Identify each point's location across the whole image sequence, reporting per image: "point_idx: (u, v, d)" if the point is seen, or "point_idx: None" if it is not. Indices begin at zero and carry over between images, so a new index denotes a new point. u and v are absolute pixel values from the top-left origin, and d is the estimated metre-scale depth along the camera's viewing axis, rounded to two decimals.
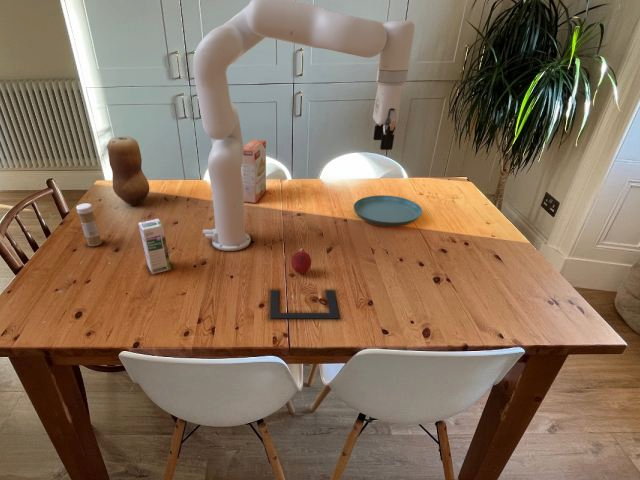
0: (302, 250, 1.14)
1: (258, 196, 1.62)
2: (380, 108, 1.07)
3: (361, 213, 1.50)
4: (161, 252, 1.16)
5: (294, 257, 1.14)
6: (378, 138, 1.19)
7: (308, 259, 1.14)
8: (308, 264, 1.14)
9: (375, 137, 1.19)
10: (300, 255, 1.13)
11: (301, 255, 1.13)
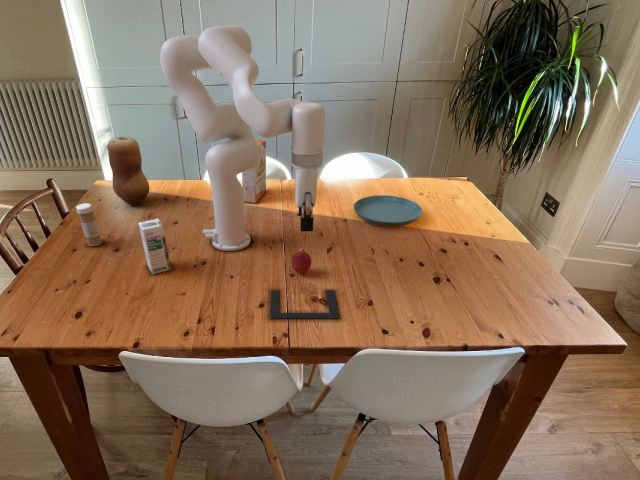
0: (302, 250, 1.14)
1: (258, 196, 1.62)
2: (296, 191, 1.01)
3: (361, 213, 1.50)
4: (161, 252, 1.16)
5: (294, 257, 1.14)
6: None
7: (308, 259, 1.14)
8: (308, 264, 1.14)
9: (300, 213, 1.13)
10: (300, 255, 1.13)
11: (301, 255, 1.13)
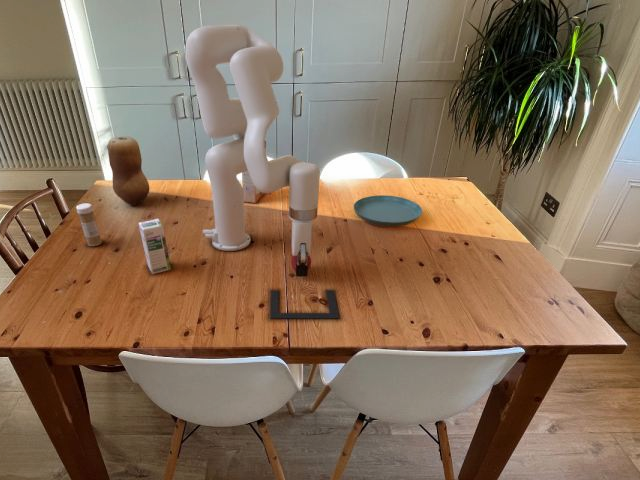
0: None
1: (258, 196, 1.62)
2: (292, 241, 1.08)
3: (361, 213, 1.50)
4: (161, 252, 1.16)
5: (294, 257, 1.14)
6: None
7: (308, 259, 1.14)
8: (308, 264, 1.14)
9: None
10: None
11: None
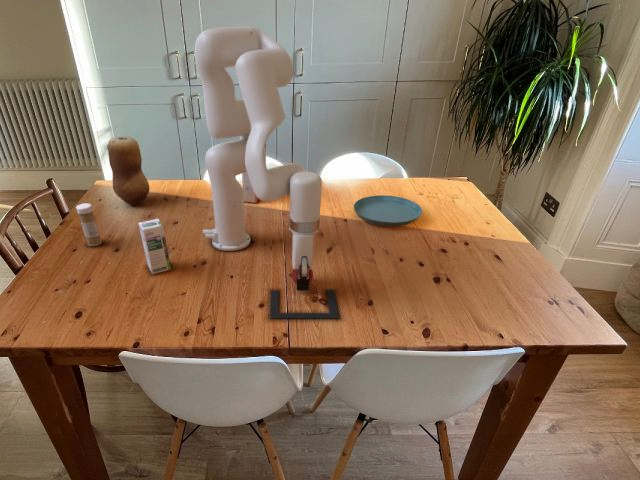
0: None
1: None
2: (293, 254, 1.03)
3: (361, 213, 1.50)
4: (161, 252, 1.16)
5: (295, 270, 1.09)
6: None
7: (310, 272, 1.08)
8: (310, 277, 1.09)
9: None
10: None
11: None
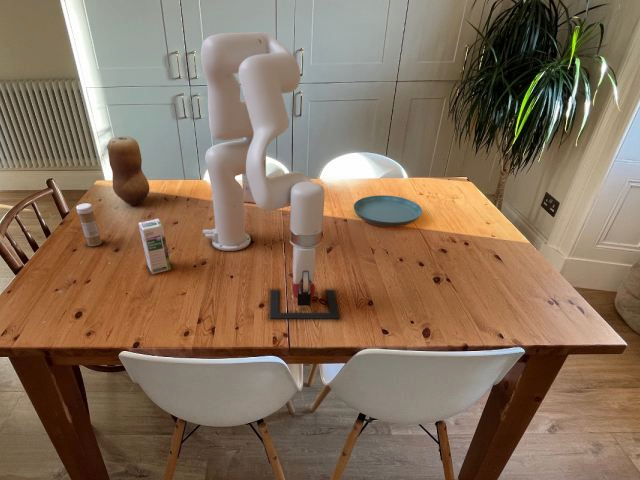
0: None
1: None
2: (294, 268, 0.97)
3: (361, 213, 1.50)
4: (161, 252, 1.16)
5: (296, 284, 1.03)
6: None
7: (311, 286, 1.03)
8: (312, 292, 1.03)
9: None
10: None
11: None
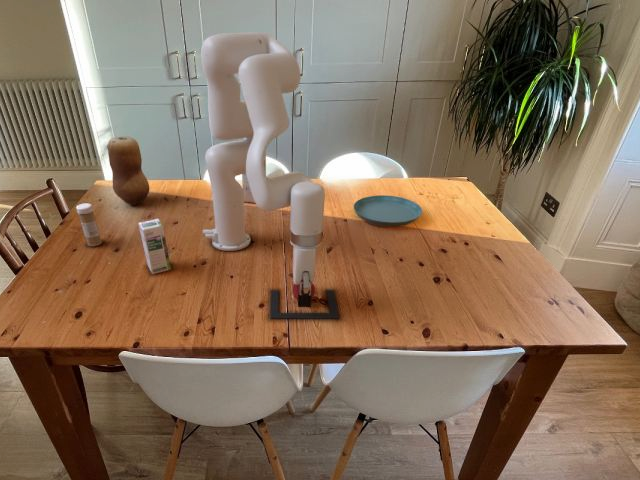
0: None
1: None
2: (294, 268, 0.97)
3: (361, 213, 1.50)
4: (161, 252, 1.16)
5: (296, 285, 1.03)
6: None
7: (311, 287, 1.03)
8: (312, 293, 1.03)
9: None
10: None
11: None
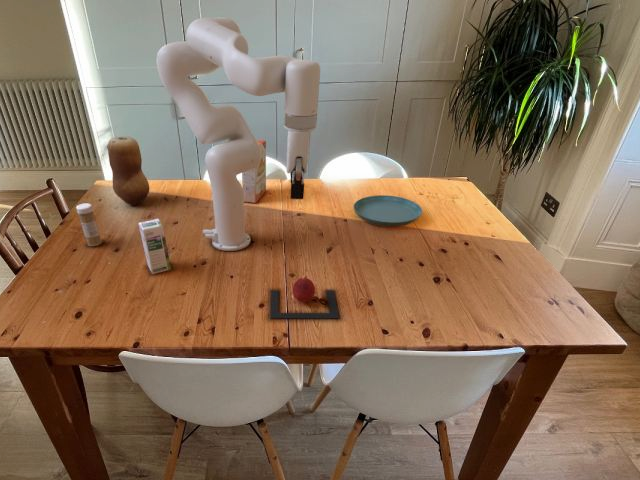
0: (305, 277, 1.02)
1: (258, 196, 1.62)
2: (287, 155, 0.96)
3: (361, 213, 1.50)
4: (161, 252, 1.16)
5: (296, 285, 1.03)
6: None
7: (311, 287, 1.03)
8: (312, 293, 1.03)
9: (292, 181, 1.08)
10: (302, 282, 1.02)
11: (303, 283, 1.02)
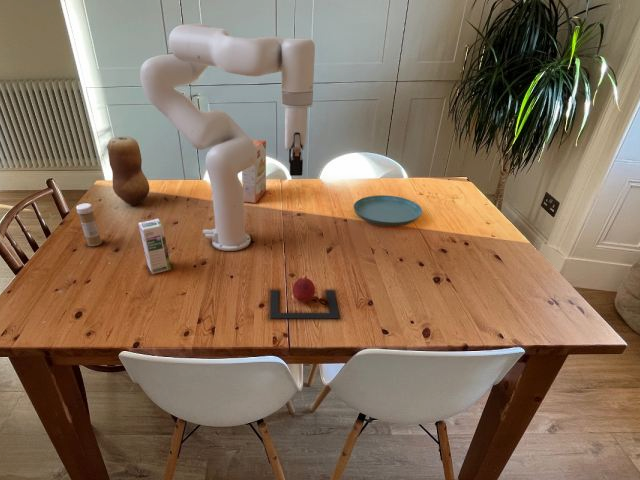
0: (305, 277, 1.02)
1: (258, 196, 1.62)
2: (285, 132, 0.99)
3: (361, 213, 1.50)
4: (161, 252, 1.16)
5: (296, 285, 1.03)
6: None
7: (311, 287, 1.03)
8: (312, 293, 1.03)
9: None
10: (302, 282, 1.02)
11: (303, 283, 1.02)
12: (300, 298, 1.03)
